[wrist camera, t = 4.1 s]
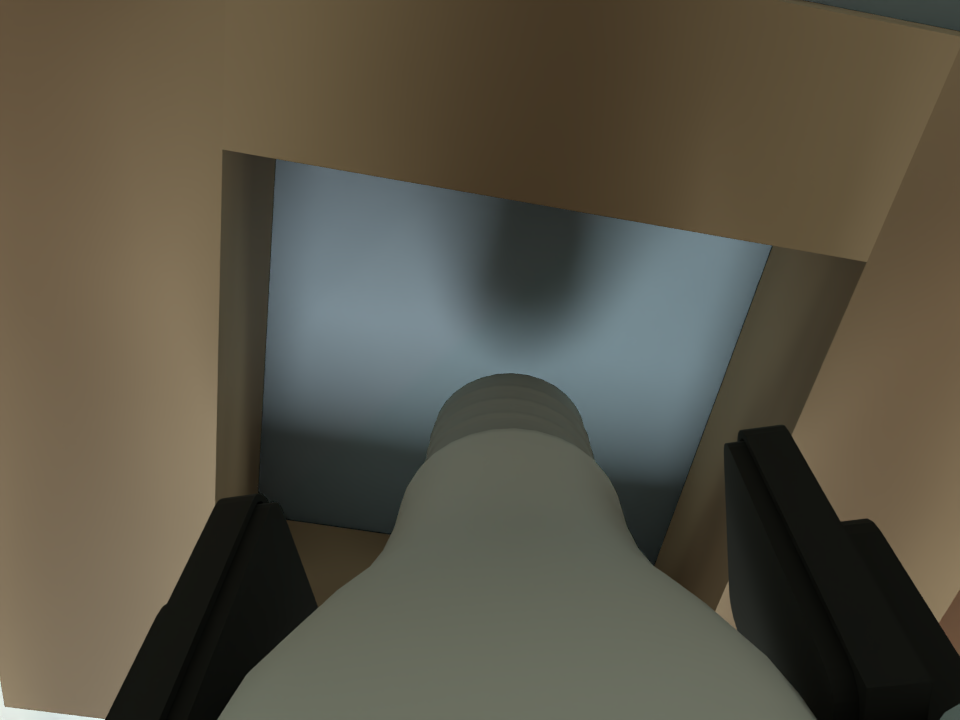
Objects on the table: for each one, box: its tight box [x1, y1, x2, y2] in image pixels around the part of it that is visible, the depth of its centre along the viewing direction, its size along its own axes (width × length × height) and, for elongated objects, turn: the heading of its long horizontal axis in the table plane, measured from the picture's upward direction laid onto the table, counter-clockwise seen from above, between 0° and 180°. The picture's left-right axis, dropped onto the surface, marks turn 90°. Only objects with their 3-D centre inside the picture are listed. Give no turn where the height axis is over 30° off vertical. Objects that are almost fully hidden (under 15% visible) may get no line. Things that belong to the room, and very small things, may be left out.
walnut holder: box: [0, 0, 960, 719], centre depth 14 cm, size 16×14×3 cm
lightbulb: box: [217, 373, 817, 720], centre depth 9 cm, size 6×6×11 cm
